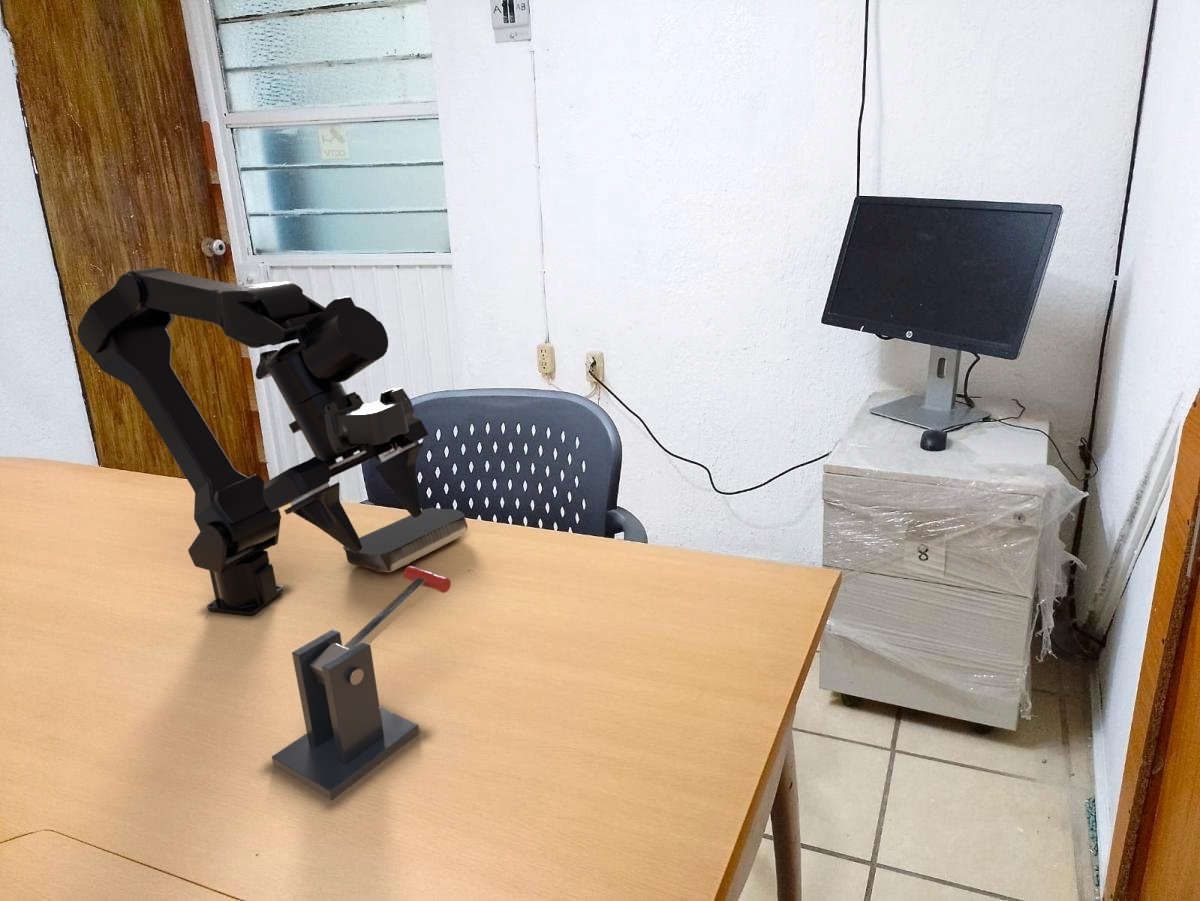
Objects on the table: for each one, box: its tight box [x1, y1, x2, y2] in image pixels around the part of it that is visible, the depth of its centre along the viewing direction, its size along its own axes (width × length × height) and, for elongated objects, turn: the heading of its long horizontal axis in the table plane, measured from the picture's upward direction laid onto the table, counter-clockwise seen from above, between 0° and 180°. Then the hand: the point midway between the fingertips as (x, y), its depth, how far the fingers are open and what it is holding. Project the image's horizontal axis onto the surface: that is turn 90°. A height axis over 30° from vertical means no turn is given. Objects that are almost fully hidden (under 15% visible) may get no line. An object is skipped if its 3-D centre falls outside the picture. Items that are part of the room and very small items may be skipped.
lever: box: [310, 565, 452, 686], centre depth 76 cm, size 14×5×2 cm, turn 146°
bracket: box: [271, 628, 420, 801], centre depth 73 cm, size 10×8×11 cm
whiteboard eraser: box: [342, 507, 468, 573], centre depth 112 cm, size 16×8×4 cm, turn 143°
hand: (389, 533), depth 86 cm, fingers open, 9 cm apart
